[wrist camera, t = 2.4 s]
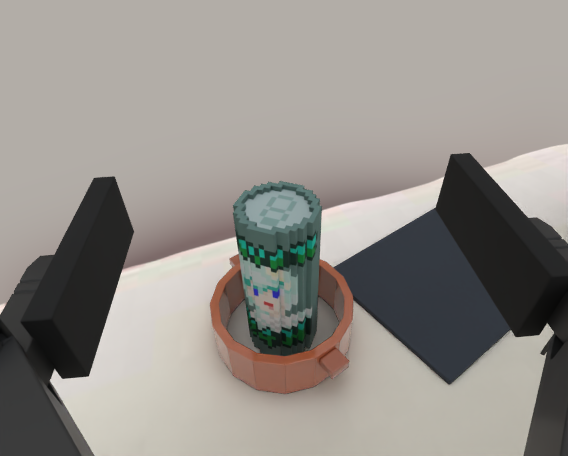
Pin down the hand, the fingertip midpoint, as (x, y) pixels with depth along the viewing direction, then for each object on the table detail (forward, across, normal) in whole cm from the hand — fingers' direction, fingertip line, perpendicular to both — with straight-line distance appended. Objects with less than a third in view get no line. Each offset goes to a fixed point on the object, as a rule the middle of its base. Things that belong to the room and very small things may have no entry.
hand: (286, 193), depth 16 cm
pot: (+10, 0, -23) cm, 25 cm away
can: (+10, 0, -23) cm, 25 cm away
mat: (+15, +18, -23) cm, 33 cm away
